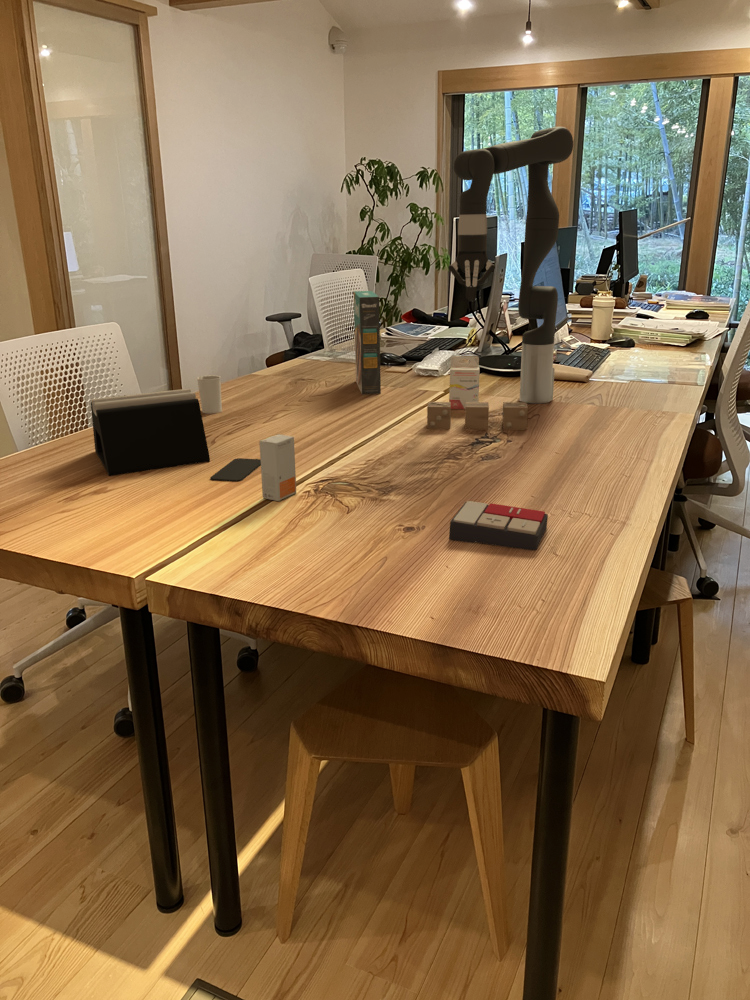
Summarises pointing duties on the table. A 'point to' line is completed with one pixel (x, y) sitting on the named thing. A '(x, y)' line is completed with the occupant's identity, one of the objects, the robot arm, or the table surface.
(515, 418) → the two pip cube
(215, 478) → the phone
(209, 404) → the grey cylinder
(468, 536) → the button keypad
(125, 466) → the device stand
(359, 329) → the cake mix box
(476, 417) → the plain walnut cube
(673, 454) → the table surface
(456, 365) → the ink cartridge box
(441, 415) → the three pip cube
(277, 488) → the skincare box
